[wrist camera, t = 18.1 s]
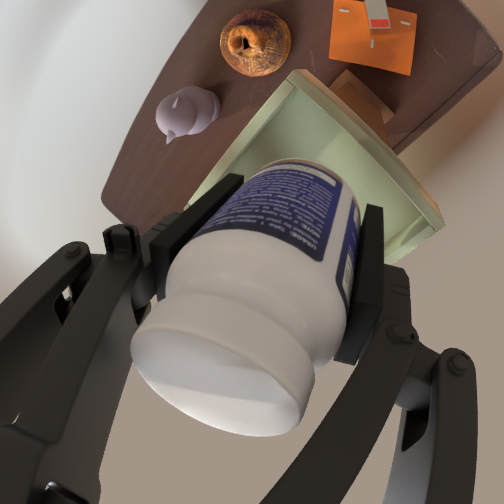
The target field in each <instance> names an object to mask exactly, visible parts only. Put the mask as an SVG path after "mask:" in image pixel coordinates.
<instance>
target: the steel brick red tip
mask: <svg viewBox="0 0 504 504" xmlns="http://www.w3.org/2000/svg"><path fill="white" fill-rule="evenodd" d="M363 2H364V7H365V11H366V16H367V21H368V27H369V32H370V35H387V34H388V32H389V31H390V29H391V26H390V21H389V16H388V11H387V6H386V1H385V0H363Z"/></svg>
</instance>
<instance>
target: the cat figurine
mask: <svg viewBox="0 0 504 504" xmlns="http://www.w3.org/2000/svg"><path fill="white" fill-rule="evenodd" d="M219 113H220V101H219V99H218V97H217V96H216V95H215V94H214V93H213V92H211V91H209V90H204V89H202V88H200V87H198V86H188V87H184V88H182V89H180V90H179V91H178V92H176V93H175V94H171V95H168V96H167V97H166V98H164V99H163V100H162V101H161V103H160V104H159V106H158V108H157V111H156V121H157V125H158V127H159V129H160V130H161V131H162V132H163V133H164V134H166V135H167V144H168V143H169V142H170V141H171V140H172V139H173V138H174V137H179V136H183V135H185V134H190V135H191V134H196V133H199V132H201V131H202V130H204V129H205V128H206V127H207V126H208V125H209V124H210V122H212V121H214V120H215V119H216V118H217V117H218V115H219Z"/></svg>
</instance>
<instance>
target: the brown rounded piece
mask: <svg viewBox="0 0 504 504" xmlns="http://www.w3.org/2000/svg"><path fill="white" fill-rule="evenodd" d="M220 48H221V52H222V55H223V56H224V58H225V60H226V61H227V63H228V64H229V65H230V66H231V67H232V68H233V69H235V70H237V71H238V72H240V73H242V74H245V75H248V76H251V77H253V76H264V75H267V74H270V73H272V72H274V71H276V70H277V69H279V68H280V67H281V66H282V65H283V64H284V63H285V61H286V59H287V57H288V55H289V51H290V48H291V34H290V30H289V28H288V26H287V24H286V23H285V22H284V21H283V20H282V19H281V18H279V17H278V16H277V15H276V14H275V13H273V12H271V11H268V10H264V9H250V10H246V11H243V12H241V13H239V14H238V15H236V16H235V17H233V18H232V19H231V20H230V21H229V22H228V23H227V24H226V26H225V27H224V29H223V31H222V33H221V39H220ZM253 48H254V49H253Z"/></svg>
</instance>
